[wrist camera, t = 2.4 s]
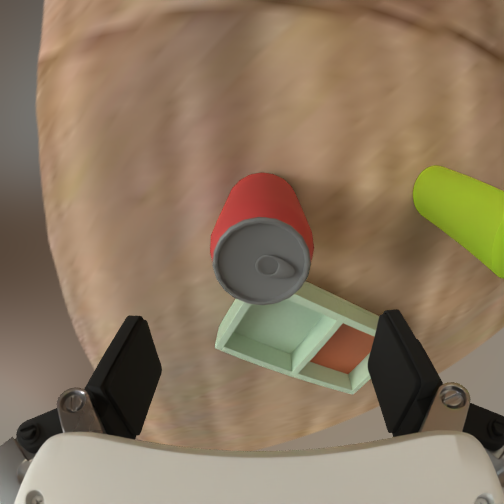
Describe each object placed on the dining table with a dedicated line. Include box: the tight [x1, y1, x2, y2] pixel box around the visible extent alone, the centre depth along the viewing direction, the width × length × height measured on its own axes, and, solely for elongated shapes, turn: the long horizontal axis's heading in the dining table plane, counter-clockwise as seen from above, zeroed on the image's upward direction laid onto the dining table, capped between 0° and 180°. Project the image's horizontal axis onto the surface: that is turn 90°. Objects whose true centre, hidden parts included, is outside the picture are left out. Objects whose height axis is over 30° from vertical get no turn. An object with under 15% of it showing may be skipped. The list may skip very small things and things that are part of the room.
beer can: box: [210, 173, 314, 305], centre depth 22 cm, size 7×7×12 cm
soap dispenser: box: [413, 166, 504, 279], centre depth 16 cm, size 6×7×20 cm
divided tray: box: [215, 281, 379, 394], centre depth 31 cm, size 19×10×4 cm, turn 63°
